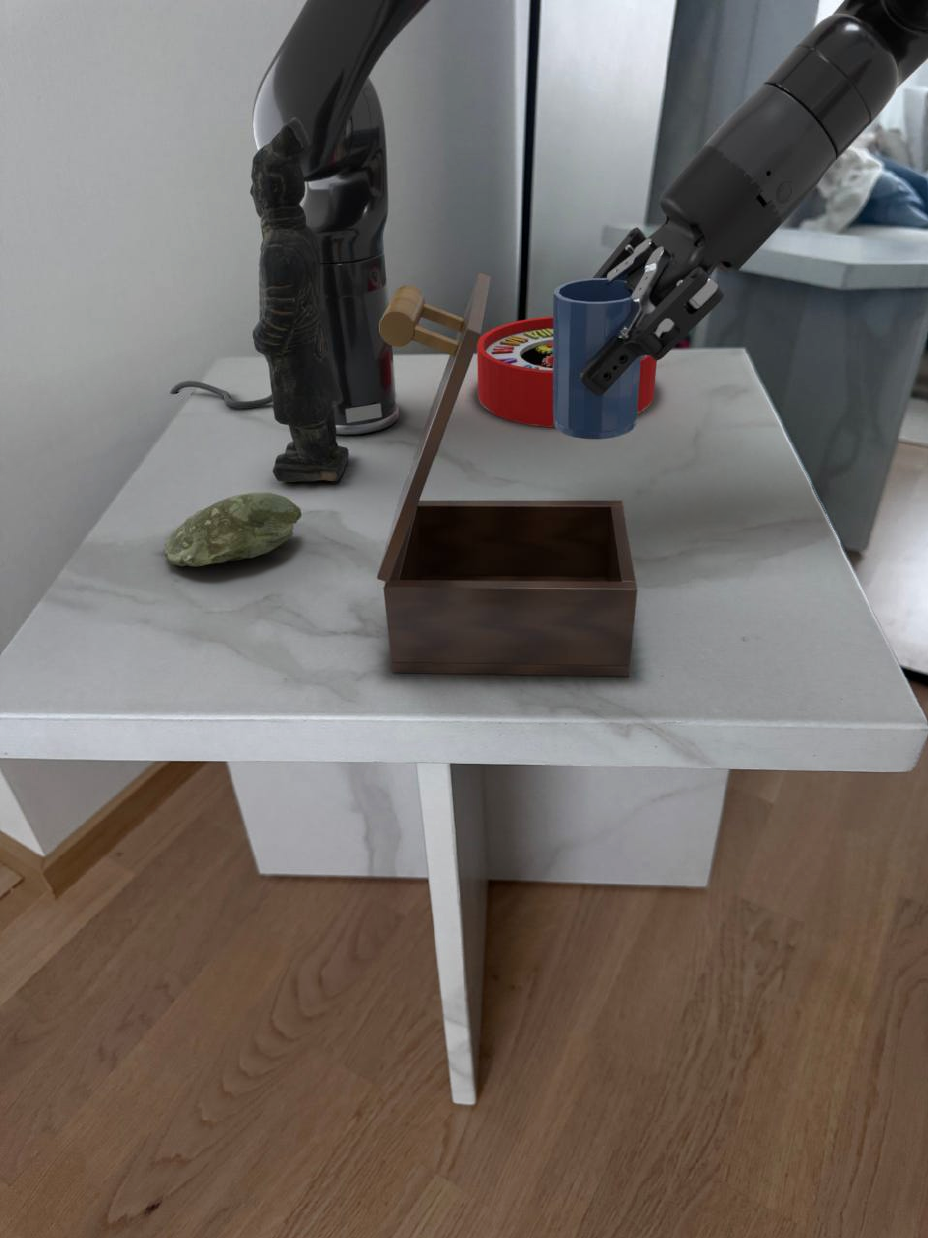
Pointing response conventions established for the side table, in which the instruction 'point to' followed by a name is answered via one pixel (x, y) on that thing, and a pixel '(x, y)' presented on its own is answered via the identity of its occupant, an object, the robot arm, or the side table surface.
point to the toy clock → (531, 372)
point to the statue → (294, 314)
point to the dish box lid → (399, 331)
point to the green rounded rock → (233, 530)
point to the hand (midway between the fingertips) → (575, 370)
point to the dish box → (513, 589)
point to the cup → (578, 335)
